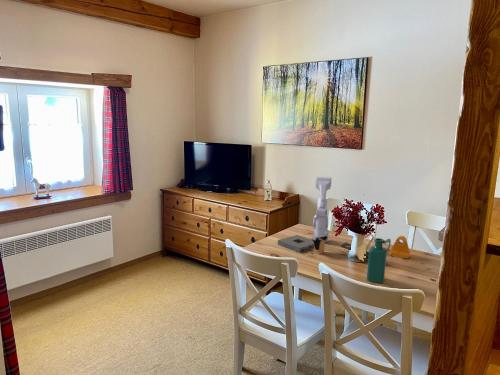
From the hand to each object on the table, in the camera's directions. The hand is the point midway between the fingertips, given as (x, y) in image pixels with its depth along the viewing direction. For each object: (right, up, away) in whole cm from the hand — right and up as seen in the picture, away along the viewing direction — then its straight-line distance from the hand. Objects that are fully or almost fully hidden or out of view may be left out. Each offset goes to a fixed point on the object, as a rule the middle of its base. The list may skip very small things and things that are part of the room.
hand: (319, 248), depth 234 cm
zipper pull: (+23, -5, -8) cm, 25 cm away
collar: (-11, 0, +12) cm, 16 cm away
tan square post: (0, -2, +1) cm, 2 cm away
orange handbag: (+49, -5, -1) cm, 49 cm away
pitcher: (+23, -10, -37) cm, 45 cm away
